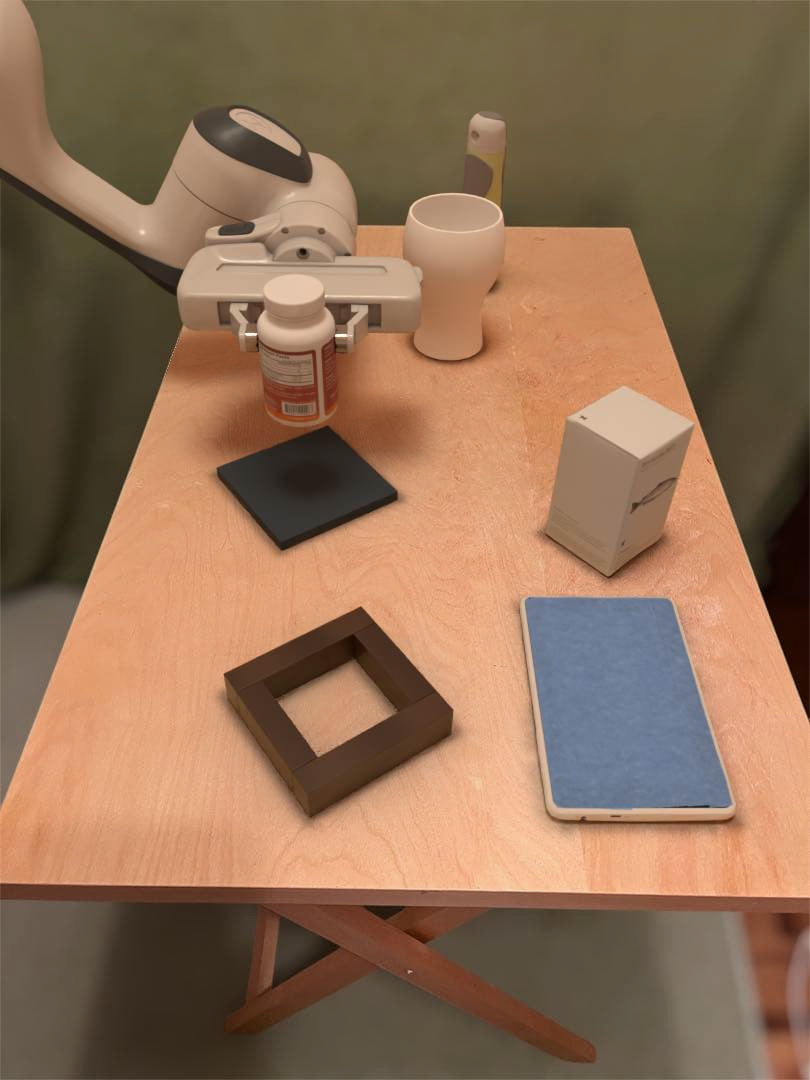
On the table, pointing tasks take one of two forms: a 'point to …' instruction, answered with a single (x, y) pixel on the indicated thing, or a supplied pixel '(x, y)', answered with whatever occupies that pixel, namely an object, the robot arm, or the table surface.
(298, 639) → the holder
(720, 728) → the table surface
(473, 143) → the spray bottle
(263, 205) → the robot arm
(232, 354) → the table surface
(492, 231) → the cup
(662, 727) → the tablet
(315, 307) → the pill bottle
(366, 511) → the coaster
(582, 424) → the white packaging box
